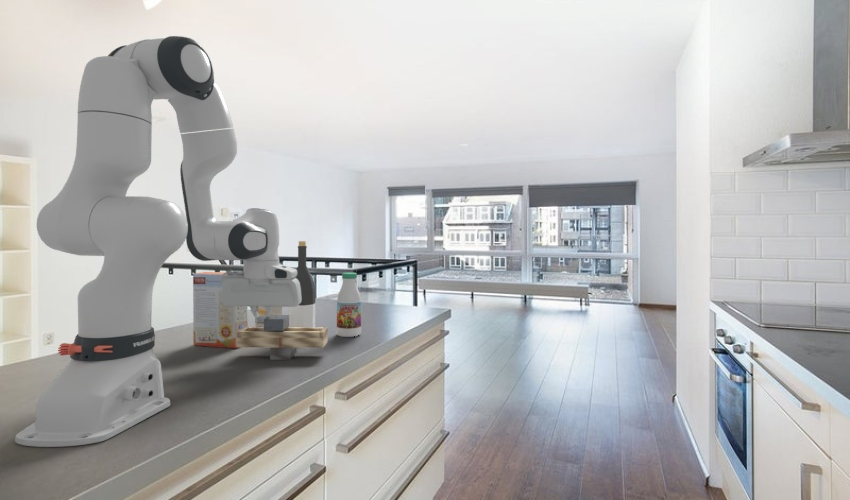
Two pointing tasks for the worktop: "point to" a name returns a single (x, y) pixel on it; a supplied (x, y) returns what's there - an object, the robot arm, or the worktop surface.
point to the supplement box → (274, 312)
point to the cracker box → (214, 313)
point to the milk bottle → (349, 307)
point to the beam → (283, 340)
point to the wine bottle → (303, 294)
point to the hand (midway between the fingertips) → (261, 323)
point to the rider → (276, 323)
